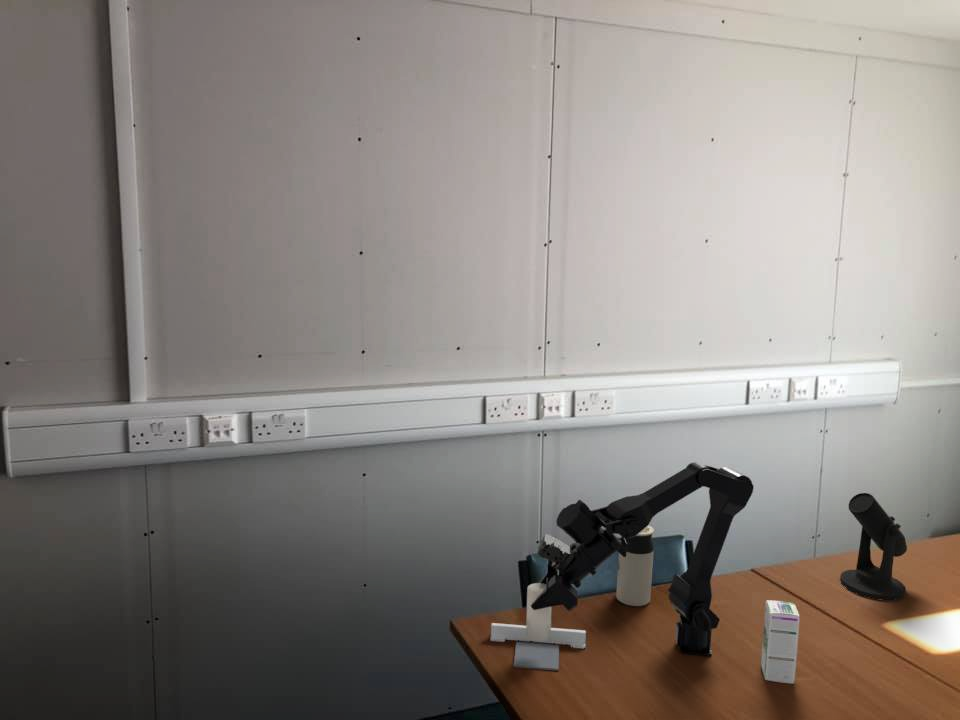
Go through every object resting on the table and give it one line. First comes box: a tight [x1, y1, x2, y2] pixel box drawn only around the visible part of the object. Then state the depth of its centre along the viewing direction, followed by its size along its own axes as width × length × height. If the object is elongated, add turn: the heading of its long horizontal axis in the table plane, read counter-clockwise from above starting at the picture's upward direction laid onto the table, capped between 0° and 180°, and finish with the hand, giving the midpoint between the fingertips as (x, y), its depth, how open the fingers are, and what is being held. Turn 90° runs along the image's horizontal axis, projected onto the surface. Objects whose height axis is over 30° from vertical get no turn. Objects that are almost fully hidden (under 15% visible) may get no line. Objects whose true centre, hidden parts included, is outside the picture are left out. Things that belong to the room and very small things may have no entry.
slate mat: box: [513, 641, 560, 671], centre depth 158 cm, size 9×9×1 cm
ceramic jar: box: [525, 582, 553, 641], centre depth 156 cm, size 5×5×10 cm
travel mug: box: [615, 524, 655, 607], centre depth 183 cm, size 8×8×18 cm
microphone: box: [839, 492, 908, 601], centre depth 193 cm, size 15×17×25 cm
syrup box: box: [760, 599, 801, 685], centre depth 153 cm, size 6×6×14 cm
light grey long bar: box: [490, 622, 587, 649], centre depth 164 cm, size 20×3×3 cm, turn 84°
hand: (532, 601), depth 156 cm, fingers closed on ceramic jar, 5 cm apart
